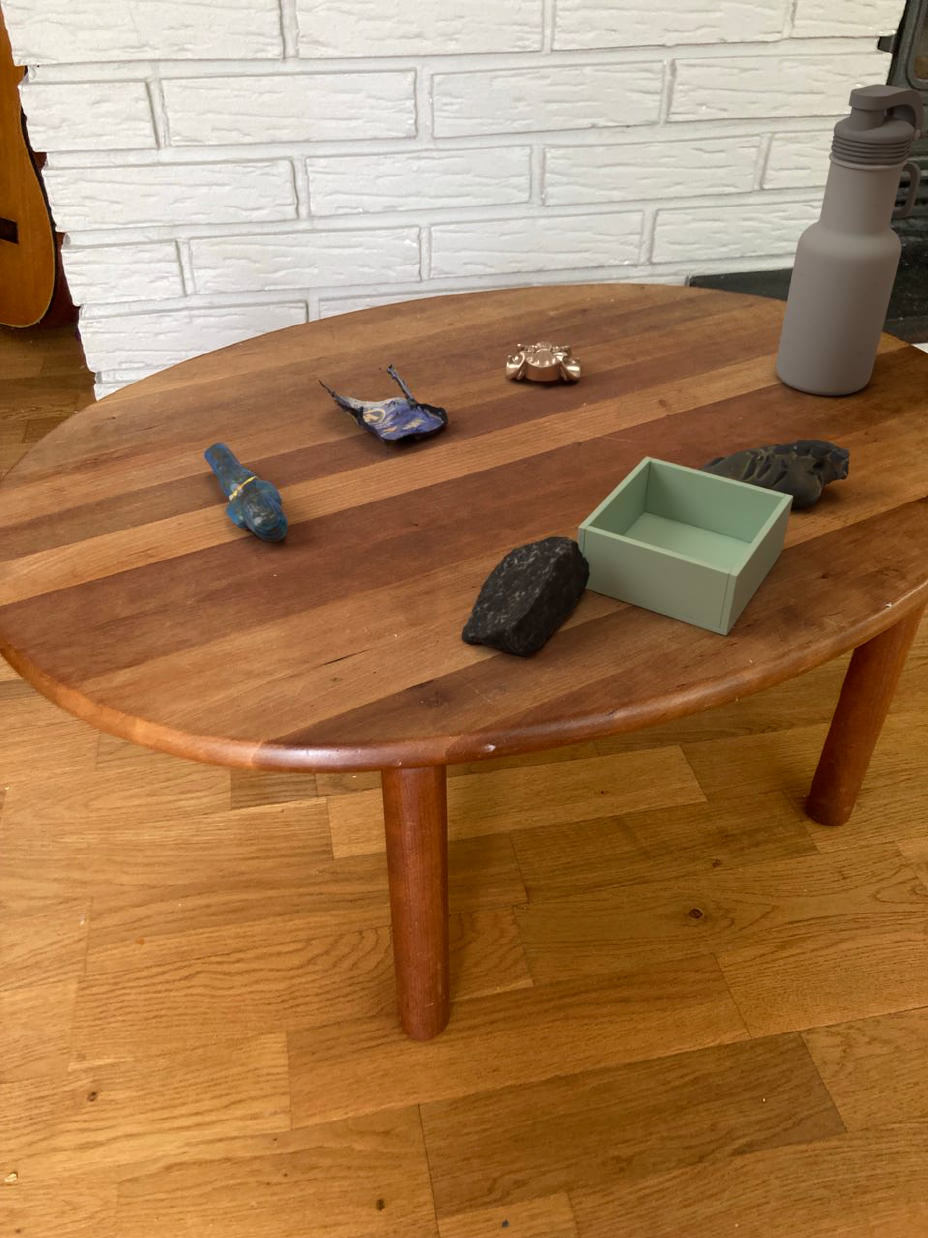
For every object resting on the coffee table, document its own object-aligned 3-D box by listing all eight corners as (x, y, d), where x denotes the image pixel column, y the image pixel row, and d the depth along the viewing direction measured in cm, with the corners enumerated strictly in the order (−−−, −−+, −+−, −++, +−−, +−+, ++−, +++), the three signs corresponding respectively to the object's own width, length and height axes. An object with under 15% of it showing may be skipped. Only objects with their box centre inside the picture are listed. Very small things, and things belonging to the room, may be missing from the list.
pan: (781, 553, 85) (793, 495, 82) (726, 636, 77) (737, 576, 74) (640, 511, 91) (646, 455, 87) (574, 585, 82) (578, 526, 79)
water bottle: (813, 350, 117) (870, 72, 99) (890, 379, 110) (964, 88, 93) (755, 375, 112) (803, 88, 94) (831, 407, 106) (899, 106, 88)
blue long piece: (202, 481, 97) (261, 566, 87) (183, 451, 94) (242, 535, 85) (245, 455, 98) (309, 536, 88) (228, 424, 95) (292, 504, 85)
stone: (685, 472, 96) (691, 420, 93) (833, 475, 95) (844, 422, 92) (691, 512, 91) (698, 458, 88) (848, 515, 90) (860, 461, 86)
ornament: (580, 363, 115) (582, 331, 112) (579, 391, 109) (581, 358, 107) (508, 361, 115) (508, 329, 113) (503, 388, 110) (504, 356, 108)
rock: (449, 642, 77) (447, 578, 73) (508, 570, 84) (508, 509, 81) (535, 670, 74) (538, 605, 71) (589, 593, 82) (593, 530, 78)
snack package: (424, 392, 110) (315, 406, 107) (426, 338, 105) (312, 352, 102) (458, 461, 102) (342, 479, 99) (462, 407, 98) (340, 424, 95)
